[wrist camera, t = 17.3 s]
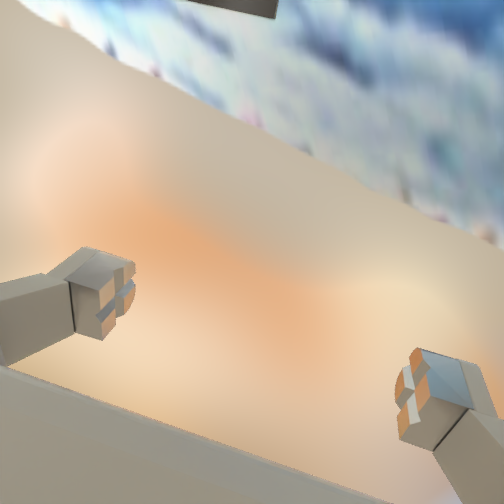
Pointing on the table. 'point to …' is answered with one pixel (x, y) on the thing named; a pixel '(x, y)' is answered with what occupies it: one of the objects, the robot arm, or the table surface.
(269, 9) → the framed board
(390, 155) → the table surface
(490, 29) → the table surface
